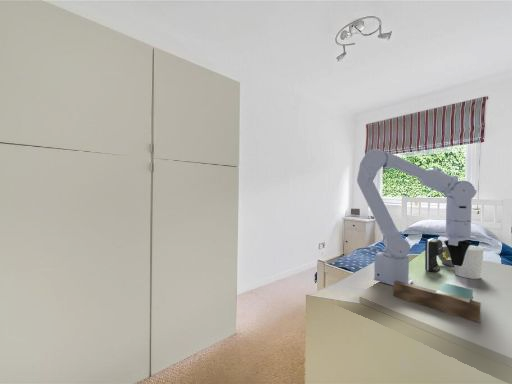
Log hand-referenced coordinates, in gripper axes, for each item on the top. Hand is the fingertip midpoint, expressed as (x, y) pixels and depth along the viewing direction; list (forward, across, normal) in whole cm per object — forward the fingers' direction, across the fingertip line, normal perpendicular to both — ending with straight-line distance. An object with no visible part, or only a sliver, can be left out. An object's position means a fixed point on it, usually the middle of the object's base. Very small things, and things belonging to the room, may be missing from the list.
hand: (457, 264), depth 71 cm
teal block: (+8, -13, -2) cm, 15 cm away
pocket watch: (+8, +25, +6) cm, 27 cm away
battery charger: (+8, +14, +9) cm, 18 cm away
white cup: (+8, +16, 0) cm, 18 cm away
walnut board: (+8, -18, +2) cm, 19 cm away
